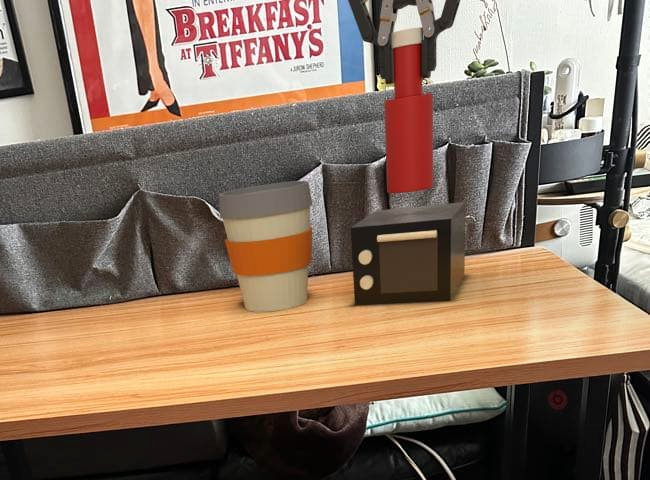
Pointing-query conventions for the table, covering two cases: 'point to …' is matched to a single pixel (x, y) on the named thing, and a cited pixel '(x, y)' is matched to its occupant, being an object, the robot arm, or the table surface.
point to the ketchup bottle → (408, 118)
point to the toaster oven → (409, 254)
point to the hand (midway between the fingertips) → (408, 79)
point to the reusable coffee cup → (269, 243)
